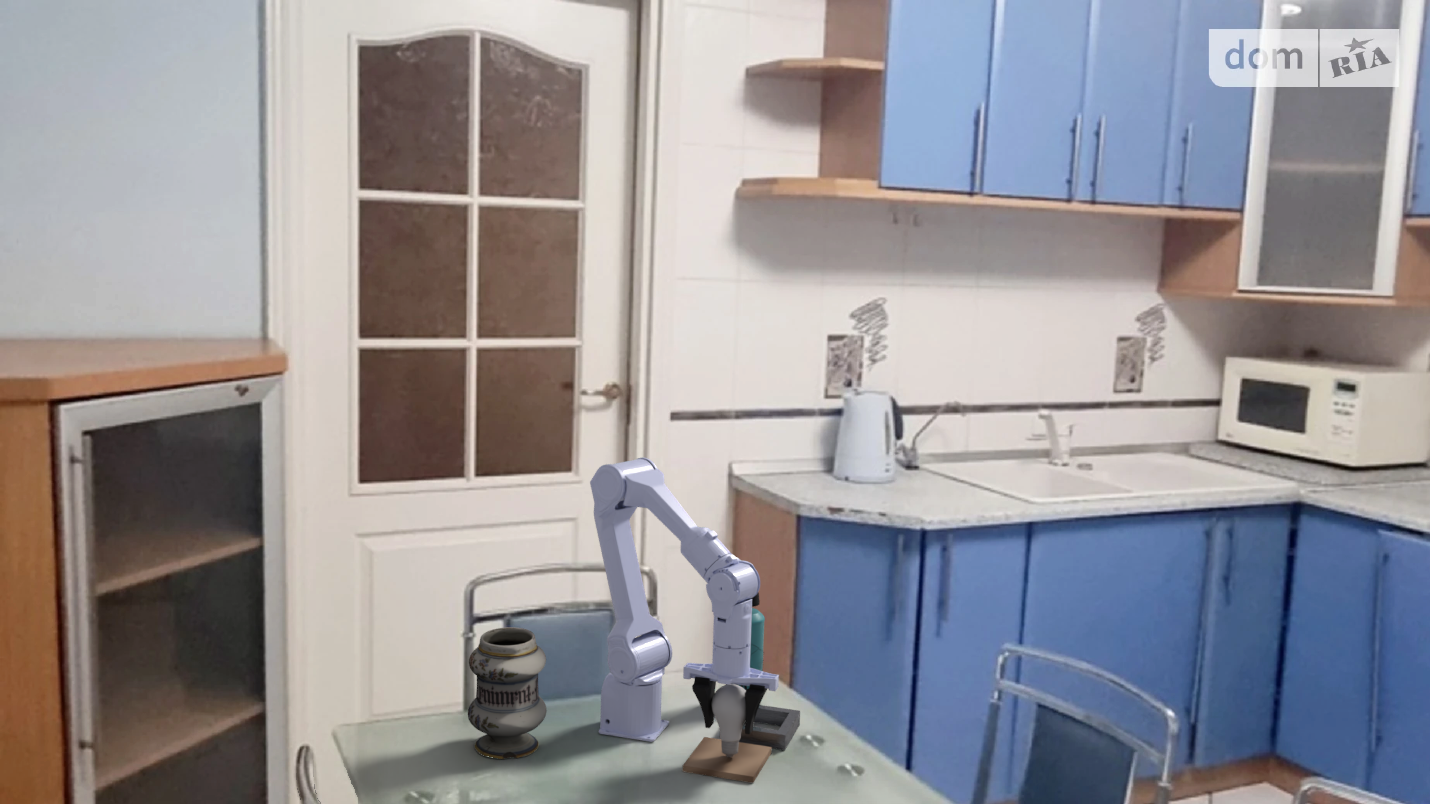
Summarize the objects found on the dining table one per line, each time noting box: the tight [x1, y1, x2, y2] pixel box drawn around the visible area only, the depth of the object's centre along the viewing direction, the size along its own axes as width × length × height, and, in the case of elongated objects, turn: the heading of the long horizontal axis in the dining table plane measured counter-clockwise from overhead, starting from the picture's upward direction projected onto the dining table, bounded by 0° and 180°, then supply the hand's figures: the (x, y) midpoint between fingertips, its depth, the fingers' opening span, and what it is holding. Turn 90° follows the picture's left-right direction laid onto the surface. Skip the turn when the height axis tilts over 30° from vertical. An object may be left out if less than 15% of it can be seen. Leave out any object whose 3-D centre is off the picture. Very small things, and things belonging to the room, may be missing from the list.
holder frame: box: [739, 704, 801, 751], centre depth 195 cm, size 10×10×2 cm
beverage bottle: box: [725, 592, 766, 691], centre depth 206 cm, size 6×7×20 cm
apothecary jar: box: [467, 626, 548, 760], centre depth 186 cm, size 12×12×18 cm
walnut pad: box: [682, 736, 772, 784], centre depth 184 cm, size 11×11×1 cm
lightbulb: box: [711, 684, 746, 757], centre depth 183 cm, size 6×6×11 cm
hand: (729, 728), depth 183 cm, fingers closed on lightbulb, 6 cm apart
